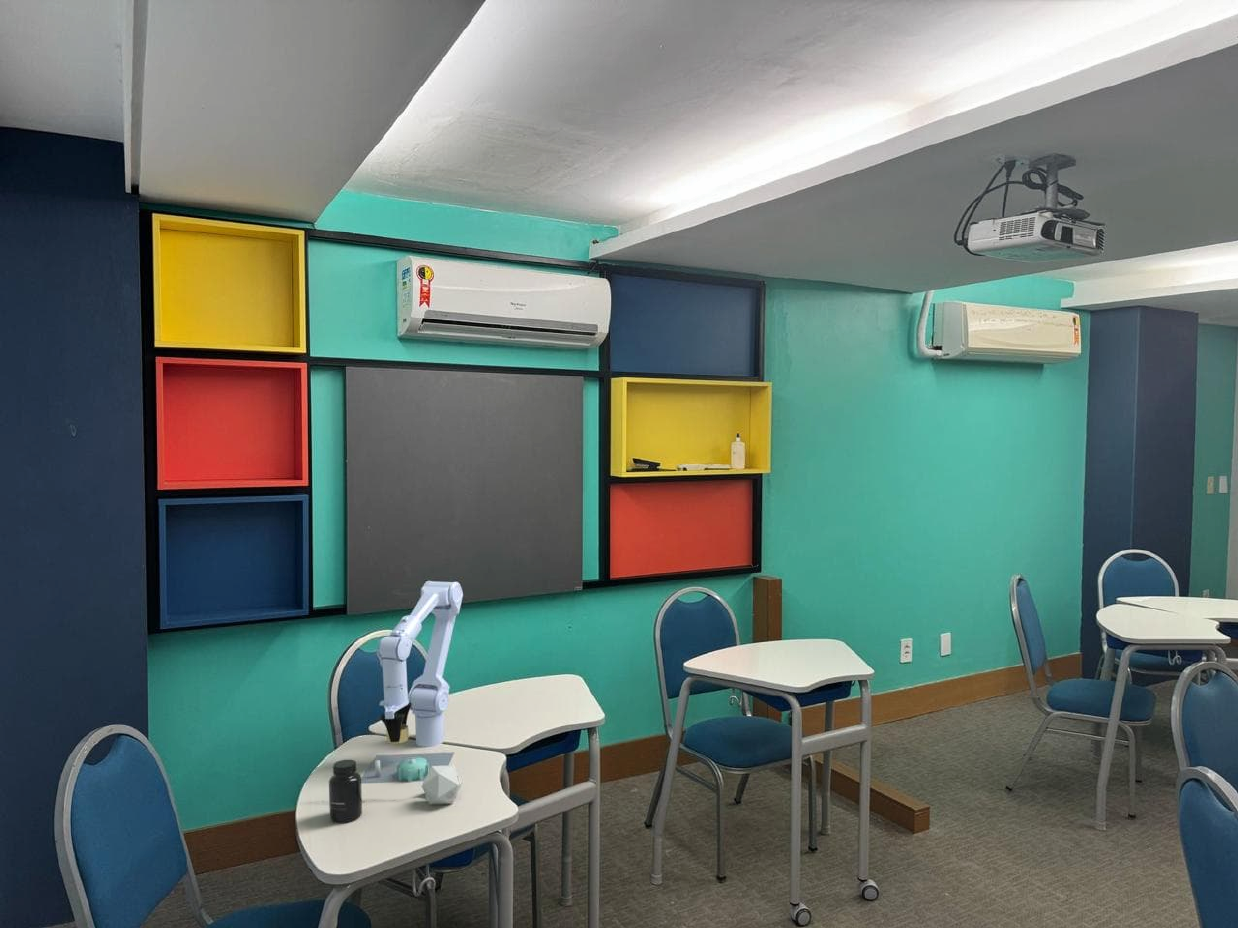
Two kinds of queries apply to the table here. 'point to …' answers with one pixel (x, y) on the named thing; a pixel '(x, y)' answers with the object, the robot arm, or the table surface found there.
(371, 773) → the gear board
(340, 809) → the supplement bottle
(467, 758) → the table surface
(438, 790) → the die
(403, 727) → the yellow faceted ring
